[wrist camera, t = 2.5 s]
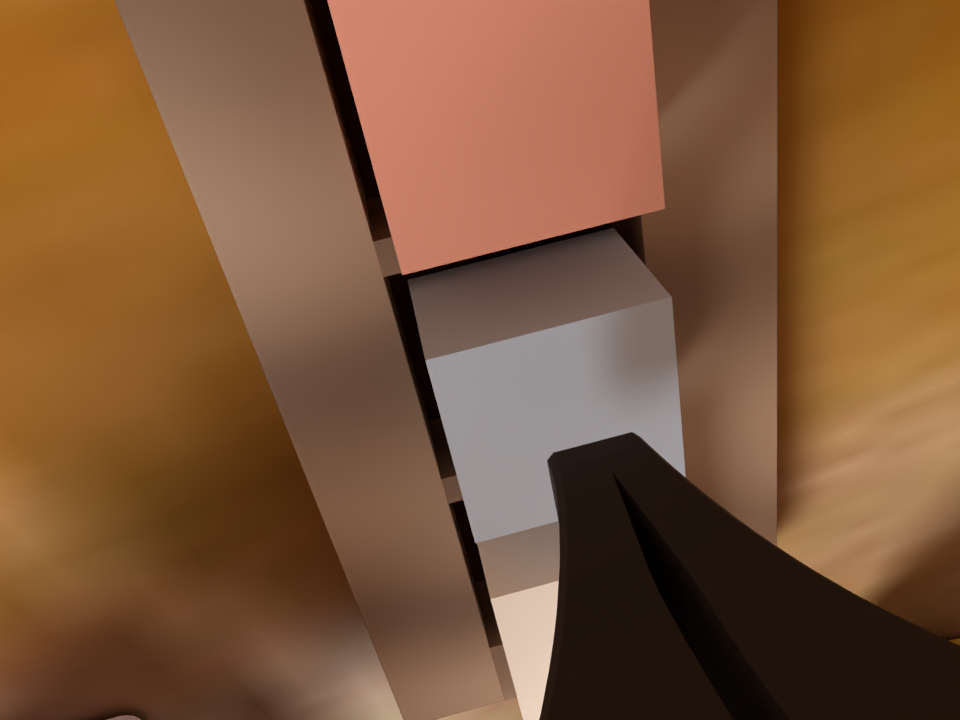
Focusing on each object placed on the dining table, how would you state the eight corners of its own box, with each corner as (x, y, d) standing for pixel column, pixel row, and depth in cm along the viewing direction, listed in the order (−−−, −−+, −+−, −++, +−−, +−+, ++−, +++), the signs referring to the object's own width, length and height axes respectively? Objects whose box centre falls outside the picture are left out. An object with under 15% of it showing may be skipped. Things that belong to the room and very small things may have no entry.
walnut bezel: (740, 564, 23) (776, 624, 21) (399, 658, 23) (406, 727, 21) (710, -327, 13) (778, -361, 11) (78, -185, 12) (36, -196, 10)
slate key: (632, 398, 18) (686, 487, 15) (452, 445, 17) (475, 543, 15) (613, 227, 15) (671, 297, 13) (407, 280, 15) (425, 360, 13)
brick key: (604, 150, 15) (665, 208, 12) (387, 205, 14) (402, 274, 12) (575, -101, 13) (642, -95, 10) (321, -41, 12) (322, -19, 10)
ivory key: (653, 574, 20) (700, 674, 18) (498, 617, 20) (524, 723, 18) (639, 451, 18) (690, 544, 16) (466, 497, 18) (490, 598, 16)
